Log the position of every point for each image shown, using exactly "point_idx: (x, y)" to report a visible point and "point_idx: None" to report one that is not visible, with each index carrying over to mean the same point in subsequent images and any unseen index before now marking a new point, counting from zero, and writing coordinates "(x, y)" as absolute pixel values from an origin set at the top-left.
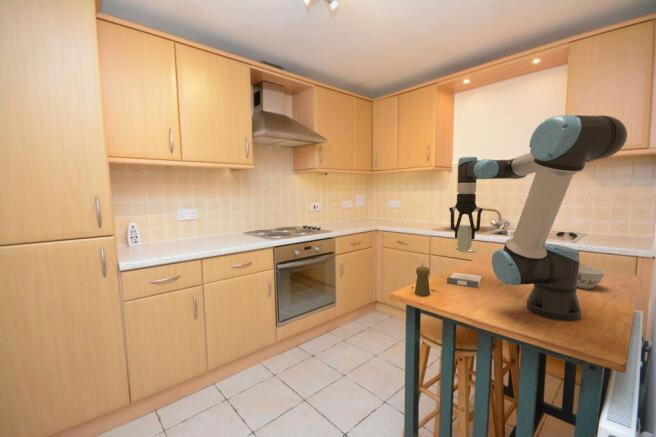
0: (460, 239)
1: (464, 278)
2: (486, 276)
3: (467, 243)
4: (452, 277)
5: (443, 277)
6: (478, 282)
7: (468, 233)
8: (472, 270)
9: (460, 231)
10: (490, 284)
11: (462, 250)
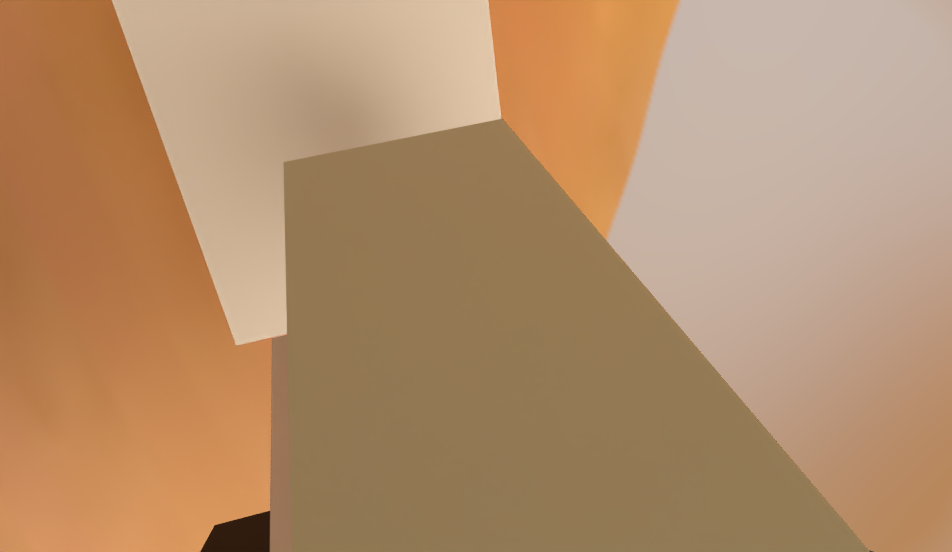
0: (531, 253)
1: (352, 146)
2: (227, 425)
3: (302, 246)
4: (477, 90)
5: (577, 113)
6: (159, 96)
7: (292, 478)
8: None
9: (664, 432)
10: (74, 207)
11: (401, 140)
